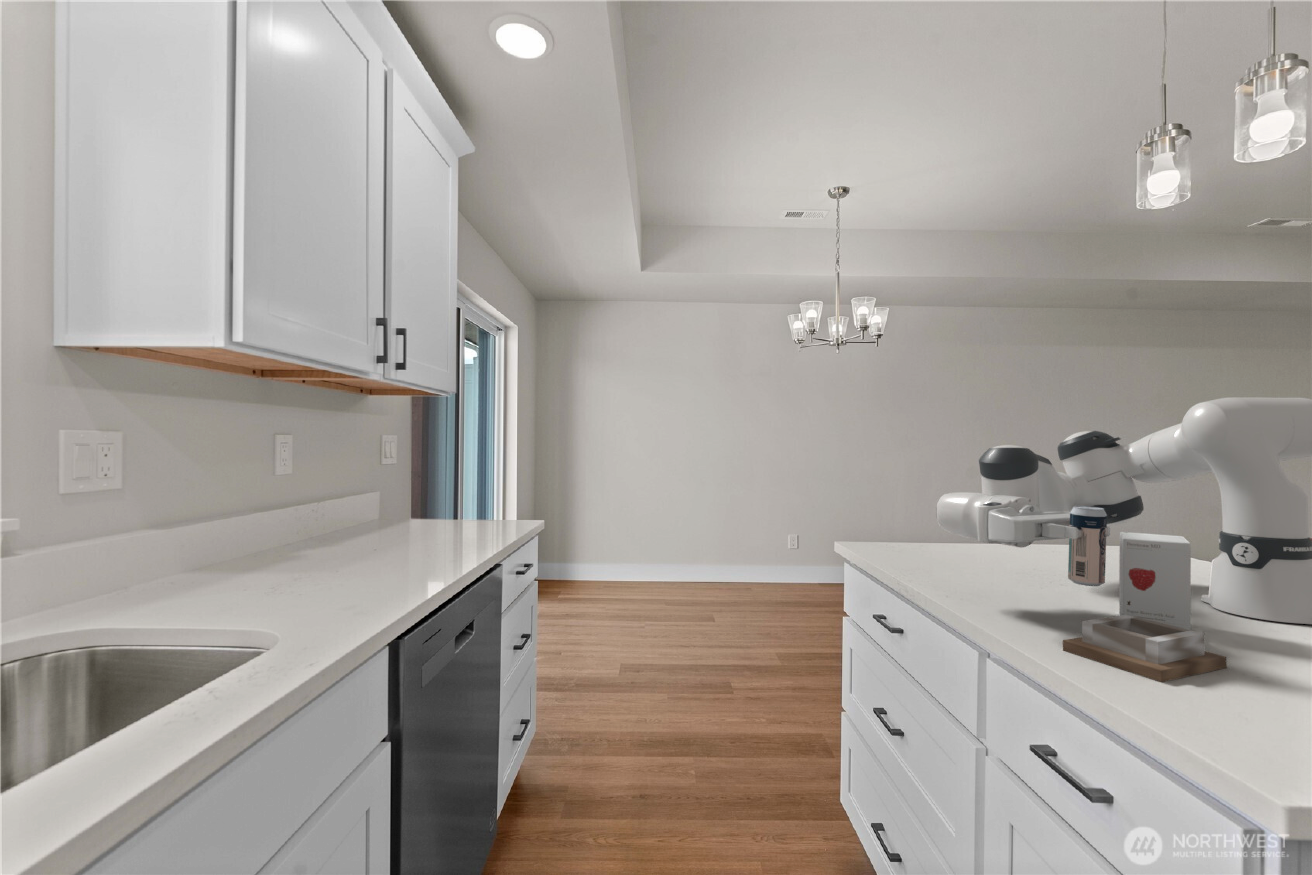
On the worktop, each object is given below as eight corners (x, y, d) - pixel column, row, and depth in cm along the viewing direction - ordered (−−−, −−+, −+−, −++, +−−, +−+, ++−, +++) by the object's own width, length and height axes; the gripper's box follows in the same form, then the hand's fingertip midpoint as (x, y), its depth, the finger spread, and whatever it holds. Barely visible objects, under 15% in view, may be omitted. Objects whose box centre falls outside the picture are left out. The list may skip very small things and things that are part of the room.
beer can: (1111, 588, 94) (1113, 510, 94) (1076, 586, 95) (1079, 509, 95) (1094, 580, 99) (1097, 506, 98) (1062, 578, 100) (1064, 505, 99)
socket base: (1125, 639, 96) (1124, 610, 96) (1226, 667, 84) (1226, 634, 84) (1062, 650, 91) (1062, 619, 91) (1161, 682, 79) (1161, 647, 79)
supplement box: (1121, 626, 103) (1120, 537, 103) (1118, 614, 110) (1118, 530, 111) (1192, 636, 98) (1191, 542, 98) (1184, 622, 105) (1184, 535, 105)
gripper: (1056, 535, 112) (1138, 548, 99) (971, 542, 105) (1046, 556, 92) (1056, 501, 112) (1138, 509, 99) (971, 505, 105) (1046, 514, 92)
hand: (1093, 532), depth 96 cm, fingers closed on beer can, 5 cm apart
